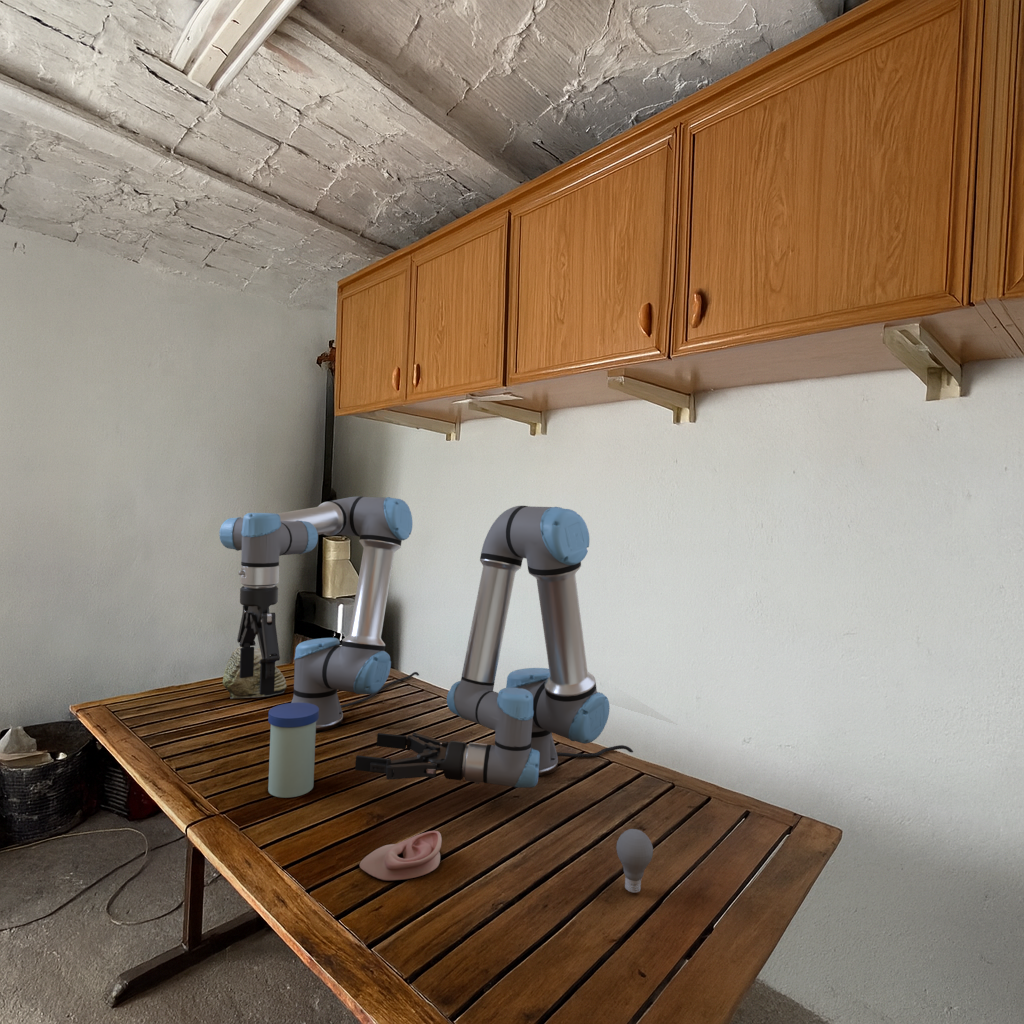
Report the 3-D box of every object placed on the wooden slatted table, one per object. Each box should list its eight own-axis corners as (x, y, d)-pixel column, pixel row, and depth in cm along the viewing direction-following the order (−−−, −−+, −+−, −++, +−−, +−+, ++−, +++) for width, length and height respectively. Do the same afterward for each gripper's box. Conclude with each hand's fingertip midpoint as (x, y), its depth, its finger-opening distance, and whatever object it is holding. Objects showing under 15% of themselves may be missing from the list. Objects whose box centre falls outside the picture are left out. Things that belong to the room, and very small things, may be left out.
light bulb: (610, 879, 108) (613, 822, 108) (644, 879, 109) (647, 822, 109) (619, 902, 102) (622, 840, 102) (655, 901, 103) (658, 840, 103)
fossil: (218, 695, 195) (220, 647, 195) (278, 685, 208) (279, 640, 207) (228, 703, 189) (230, 653, 188) (289, 692, 201) (290, 645, 201)
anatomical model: (352, 851, 106) (379, 818, 118) (351, 875, 106) (379, 839, 118) (427, 864, 104) (448, 829, 115) (426, 888, 104) (447, 850, 115)
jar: (275, 778, 142) (277, 704, 141) (317, 778, 142) (320, 705, 142) (262, 797, 132) (265, 719, 132) (308, 797, 133) (311, 719, 133)
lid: (275, 710, 142) (276, 702, 142) (322, 711, 143) (323, 702, 143) (262, 727, 131) (262, 718, 131) (312, 727, 132) (313, 718, 132)
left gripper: (224, 579, 142) (221, 673, 142) (260, 595, 122) (256, 704, 123) (258, 577, 146) (255, 668, 147) (298, 592, 127) (295, 697, 128)
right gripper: (452, 806, 120) (344, 793, 122) (473, 757, 145) (383, 747, 147) (455, 766, 120) (347, 754, 122) (476, 724, 145) (386, 715, 147)
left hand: (256, 684), depth 135 cm, fingers open, 13 cm apart
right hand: (367, 750), depth 135 cm, fingers open, 13 cm apart
